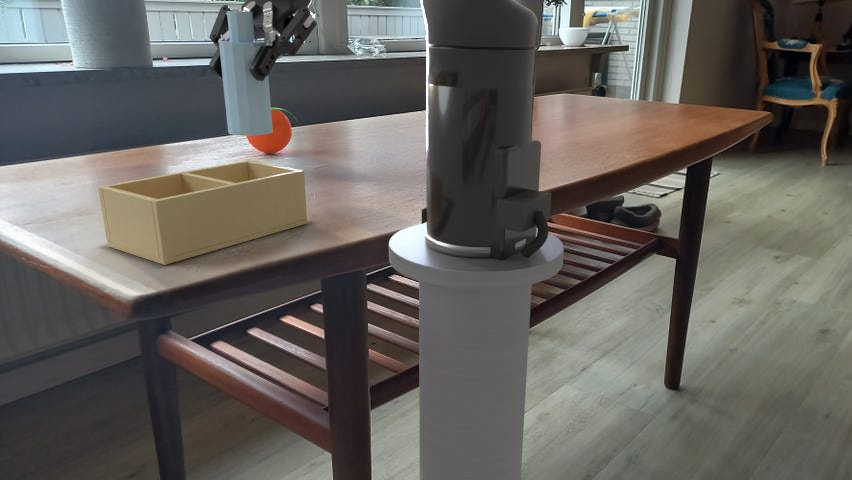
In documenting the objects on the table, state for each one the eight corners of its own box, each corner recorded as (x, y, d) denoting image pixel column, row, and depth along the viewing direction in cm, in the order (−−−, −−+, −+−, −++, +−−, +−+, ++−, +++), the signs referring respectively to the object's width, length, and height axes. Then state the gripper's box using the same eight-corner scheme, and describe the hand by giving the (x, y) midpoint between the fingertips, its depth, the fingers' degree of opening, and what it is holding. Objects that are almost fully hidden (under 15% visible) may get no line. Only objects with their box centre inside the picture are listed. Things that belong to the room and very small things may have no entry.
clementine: (294, 147, 112) (291, 102, 109) (304, 155, 106) (302, 108, 103) (243, 150, 108) (239, 104, 106) (251, 158, 102) (246, 109, 100)
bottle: (282, 132, 89) (272, 12, 84) (247, 137, 84) (235, 10, 79) (253, 128, 91) (243, 11, 87) (218, 132, 87) (205, 10, 82)
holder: (307, 223, 71) (304, 170, 69) (164, 265, 58) (155, 201, 56) (252, 210, 75) (248, 160, 73) (107, 246, 62) (97, 186, 60)
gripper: (230, -48, 90) (170, 50, 83) (322, -50, 85) (266, 55, 78) (261, -2, 96) (207, 92, 90) (348, -2, 91) (298, 99, 84)
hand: (235, 74), depth 84 cm, fingers closed on bottle, 5 cm apart
